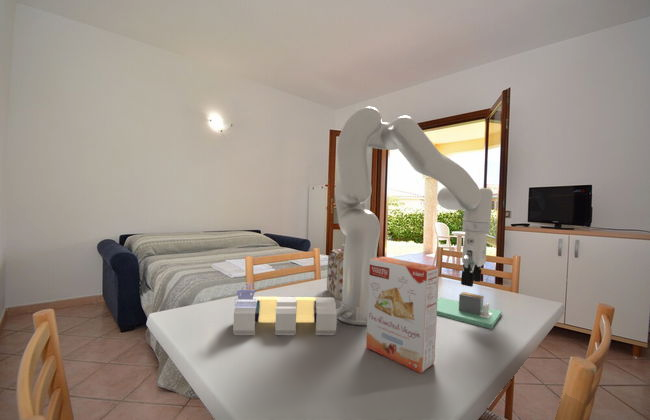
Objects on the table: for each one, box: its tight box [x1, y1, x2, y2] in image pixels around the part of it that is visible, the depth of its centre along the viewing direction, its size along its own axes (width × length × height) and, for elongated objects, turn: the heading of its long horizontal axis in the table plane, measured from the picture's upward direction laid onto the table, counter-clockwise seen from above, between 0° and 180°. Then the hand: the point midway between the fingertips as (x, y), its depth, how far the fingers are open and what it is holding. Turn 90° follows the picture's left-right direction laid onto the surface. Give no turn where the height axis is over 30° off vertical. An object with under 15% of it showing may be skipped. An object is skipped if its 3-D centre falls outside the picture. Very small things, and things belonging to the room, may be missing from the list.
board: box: [437, 297, 502, 330], centre depth 95 cm, size 15×19×4 cm
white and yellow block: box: [232, 282, 338, 336], centre depth 79 cm, size 25×10×13 cm, turn 95°
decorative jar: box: [326, 243, 345, 300], centre depth 111 cm, size 12×12×18 cm
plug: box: [458, 291, 484, 315], centre depth 94 cm, size 4×6×5 cm, turn 51°
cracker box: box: [365, 256, 440, 374], centre depth 66 cm, size 14×6×21 cm, turn 45°
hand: (470, 283), depth 93 cm, fingers open, 9 cm apart
